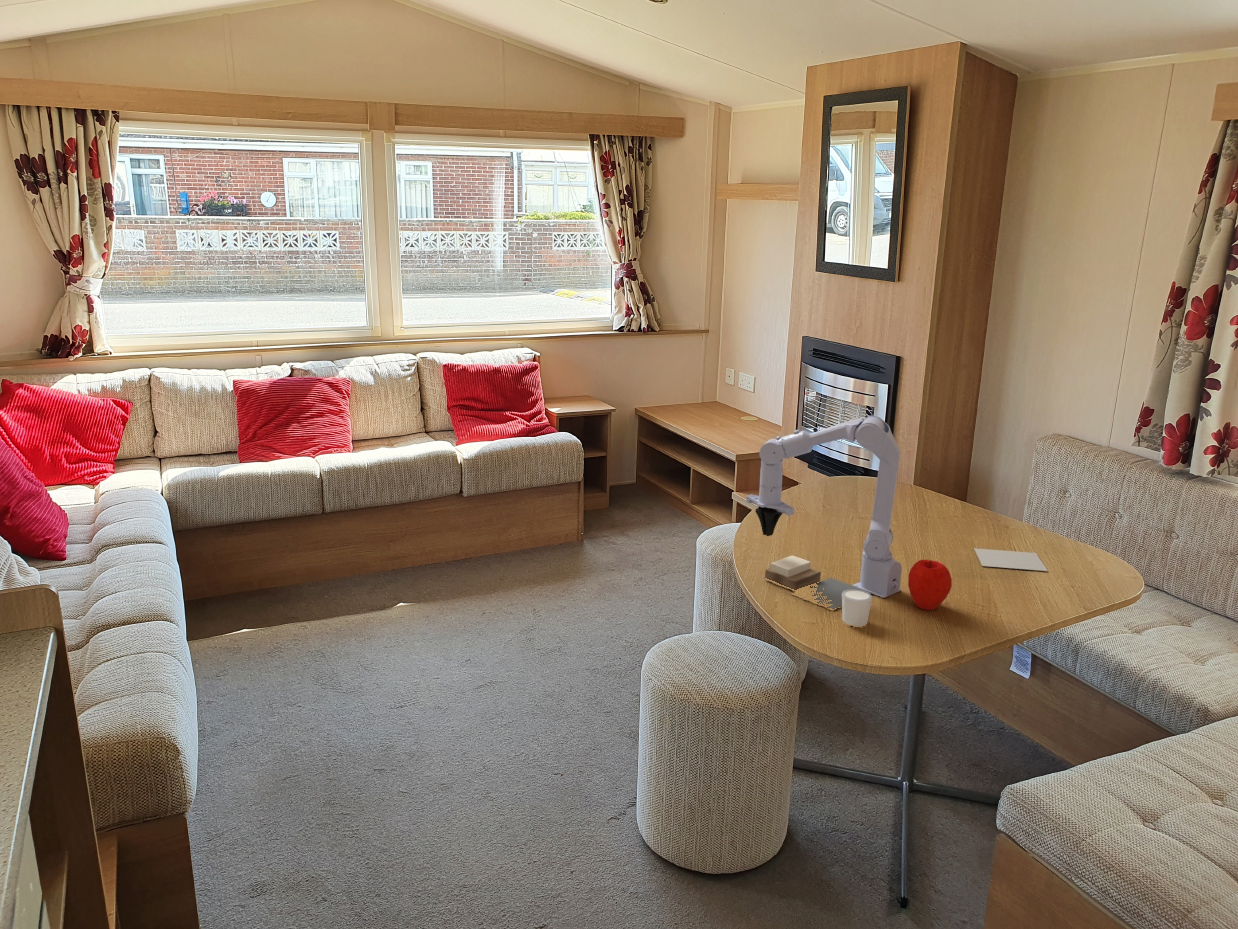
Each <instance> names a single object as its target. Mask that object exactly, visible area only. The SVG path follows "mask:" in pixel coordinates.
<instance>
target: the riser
mask: <svg viewBox="0 0 1238 929" xmlns="http://www.w3.org/2000/svg"><path fill="white" fill-rule="evenodd" d="M821 573H822V572H821V571H820V570H816V569H815V568H811V567H810V569H809V570H806V571H804V572H801V573H798V574H795V575H793V576H790V577H786V576H783V575H781V574H778V573H775V572H773V571H770V567H769V568H766V569H765V573H764V574H765V575H764V579H765V578H767V579H769V580H772V581H775V582H777V583H779V584H781V585H784V586H786V587H789V588H791V589H794V590H797V589H799V588H802V587H805V586H808V585H811V584H814V583H817V582H819V581H820V582H821Z"/></svg>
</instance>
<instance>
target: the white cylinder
mask: <svg viewBox="0 0 1238 929" xmlns="http://www.w3.org/2000/svg"><path fill="white" fill-rule="evenodd" d="M872 600H873V594H872V595H871V594H869V593H868V592H865V591H862V590H854V589H851V590H846V591H843V592H842V608H841V618H842V619H841V621H842V620H843V621H844V622H845V623H846V624H849V625H853V626H864V625H866V624H867V625H868V621H869V620H868V619H869V617H870V616H869V615H870V611H871V605H872ZM843 621H842V622H843ZM867 625H866V626H867Z"/></svg>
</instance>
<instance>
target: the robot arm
mask: <svg viewBox="0 0 1238 929" xmlns="http://www.w3.org/2000/svg"><path fill="white" fill-rule="evenodd" d="M863 418H864V417H859V418H854V419H851V420H847V421H844V422H840V423H838V424H834V425H832V426H828V427H826V428H823V429H821V430H817V431H814V432H812V433H811V432H808V431H806V430H801V431H800V429H796V430H793V433H791V434H788V435H784V436H781V435H778V436H776V438H771V439H769V440H767V441H766V442H765V443H764V444H763V445H762V446H761V447H760V449H759V453H758V455H759V458H760V460H761V461H760V469H759V470H760V471H759V472H760V474H759V491H758V492H759V493H758V495H755V494H747V495H746V499H745V502H746V503H748V504H753V505H756V506H757V508H755V510H754V511H755V513H756V515H757V517H758V519H759V522H760V527H761V531H762V535H763V536H766V537H770V536H773V535H774V532H775V528H776V526H777V523H778V522H779V520H780V519H781V516H782V515H783V514H785V516H787V517H791V516H794V513H795V512H794V511H795V508H794V506H791V505H789V504H787V503H785V502H783V500H782V492H783V491H782V490H783V487H782V486H783V474H784V469H783V465H784V464H783V463H784V459H790V458H791V459H792V458H794V457H798V456H801V455H805V454H808V453H811V452H812V450H813V448H814V446H818V445H822V444H827V443H831V442H834V441H839V440H846V441H848V442H850V443H855V441H856V442H857V444H859V446H861V447H863V448H864V449H867V450H868V451H870V452H872V454H874V456H876V458H878V460H879V463H878V470H877V477H876V478H877V479H876V485H875V493H874V500H873V501H874V502H873V508H872V516H871V521H870V522H871V523H870V526H869V530H868V533H867V537H866V539H865V540H864V542H863V550H862V555H861V556H862V557H861V568H860V569H861V570H860V577H859V578H860V579H859V580H860V581H858V582H857V583H853V584H852V586H855V587H858V588H860V589H863V590H866V591H869V592H871V593H872V595H874V596H877V597H879V596H880V598H882V599H884V598H888V597H890V596H892V595H894V594H896V593H898V592H901V591H902V588H901V579H902V564H901V563H900V562H899V561H897V560H895V559H894V557H893V553H892V551H891V549H890V548H891V546H892V543H893V541H894V534H893V532H892V516H893V515H892V514H893V508H894V502H895V501H894V500H895V496H896V495H895V493H896V487H897V486H896V485H897V480H898V479H897V478H898V472H899V467H900V457H901V449H900V447H899V446H898V443H897V441H896V438H895V436H894V435H893V433H892V430H891V428H890V426H891V425H889V424H888V423H887V422H885V421H884V420H883V419H882V418H881V417H879V416H877V415H869V416H866V417H865V418H864V419H863Z"/></svg>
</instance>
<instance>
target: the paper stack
mask: <svg viewBox="0 0 1238 929" xmlns="http://www.w3.org/2000/svg"><path fill="white" fill-rule="evenodd" d="M973 550H974V551H975V554H976V556H977V558H978V560H979V563H980V564H981V566H982V567H990V568H992V567H993V568H1004V569H1005V568H1006V569H1017V570H1029V571H1039V572H1040V571H1042V572H1048V569H1047V567H1046V566H1045V564H1044V563H1043V562H1042V560H1041V558H1040V557H1039V555H1038V553H1036V552H1025V551H1014V550H1003V549H1002V550H1001V549H990V548H988V549H987V548H976V547H974V548H973Z"/></svg>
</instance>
